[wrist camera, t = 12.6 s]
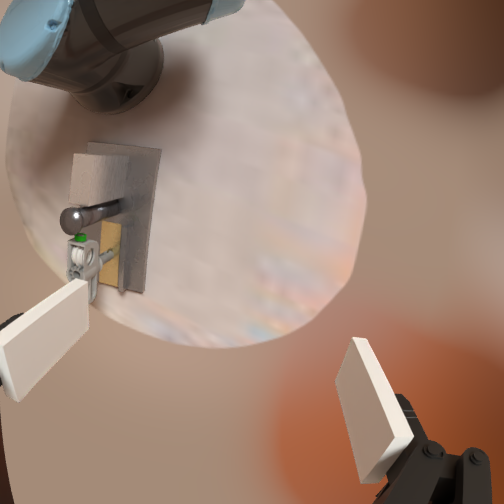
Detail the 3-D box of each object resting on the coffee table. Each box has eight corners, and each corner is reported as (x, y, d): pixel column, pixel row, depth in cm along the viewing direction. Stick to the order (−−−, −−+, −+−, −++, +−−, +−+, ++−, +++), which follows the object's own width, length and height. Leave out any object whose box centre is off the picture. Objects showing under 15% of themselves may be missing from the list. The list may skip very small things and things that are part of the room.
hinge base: (91, 142, 42) (41, 139, 30) (161, 149, 42) (123, 144, 30) (81, 273, 47) (37, 303, 35) (144, 290, 47) (110, 327, 35)
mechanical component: (100, 282, 46) (67, 308, 37) (103, 219, 44) (67, 234, 34) (116, 287, 46) (85, 314, 37) (120, 223, 44) (86, 239, 34)
